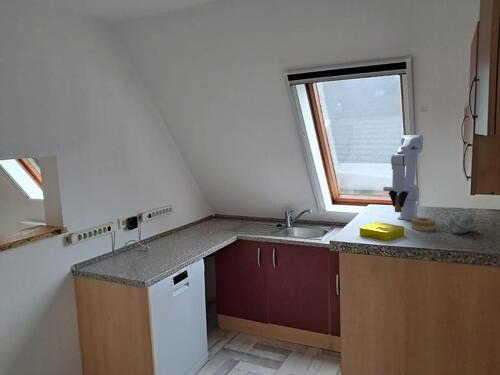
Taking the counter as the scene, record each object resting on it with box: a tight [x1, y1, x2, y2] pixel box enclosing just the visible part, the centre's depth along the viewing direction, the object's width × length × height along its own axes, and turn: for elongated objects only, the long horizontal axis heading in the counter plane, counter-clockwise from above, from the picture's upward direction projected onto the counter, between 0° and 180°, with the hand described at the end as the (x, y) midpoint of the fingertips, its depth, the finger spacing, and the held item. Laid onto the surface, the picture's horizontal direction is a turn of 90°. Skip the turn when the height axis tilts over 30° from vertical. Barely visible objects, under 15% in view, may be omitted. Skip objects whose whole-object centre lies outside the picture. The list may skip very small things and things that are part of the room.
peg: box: [394, 195, 401, 213], centre depth 200 cm, size 3×3×8 cm
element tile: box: [359, 221, 405, 242], centre depth 184 cm, size 15×15×5 cm
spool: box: [448, 213, 475, 235], centre depth 186 cm, size 14×10×10 cm
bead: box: [410, 217, 436, 232], centre depth 195 cm, size 10×10×4 cm
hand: (398, 206), depth 201 cm, fingers closed on peg, 3 cm apart
